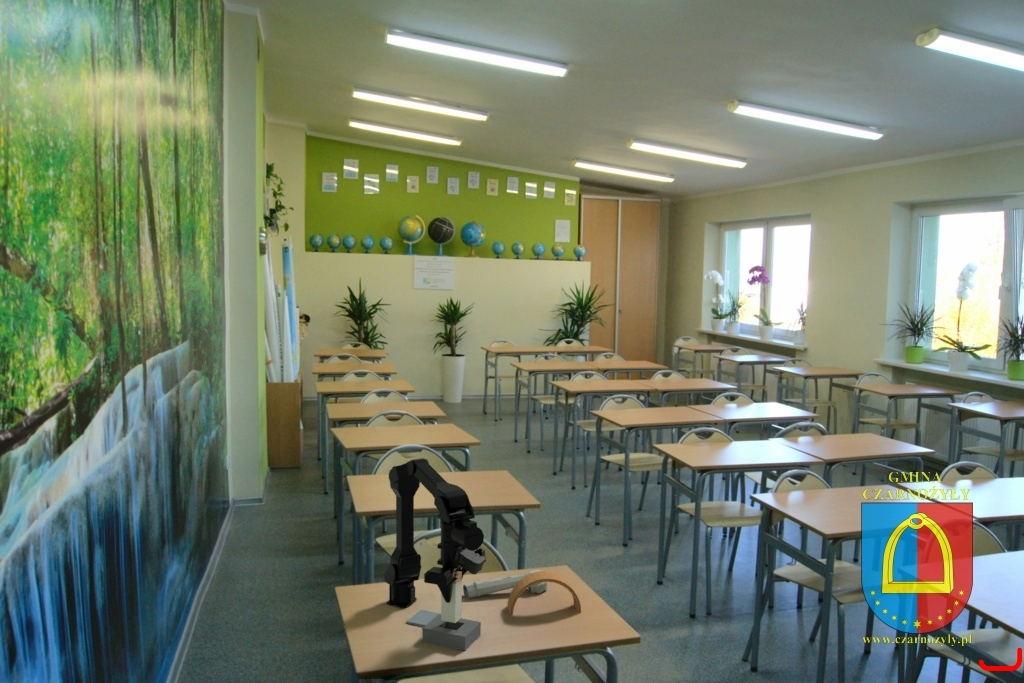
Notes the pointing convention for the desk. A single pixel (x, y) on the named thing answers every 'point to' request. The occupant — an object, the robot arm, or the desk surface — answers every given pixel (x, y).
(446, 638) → the socket block
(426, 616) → the pad
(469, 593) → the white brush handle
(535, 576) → the arch
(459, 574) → the plug
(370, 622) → the desk surface
